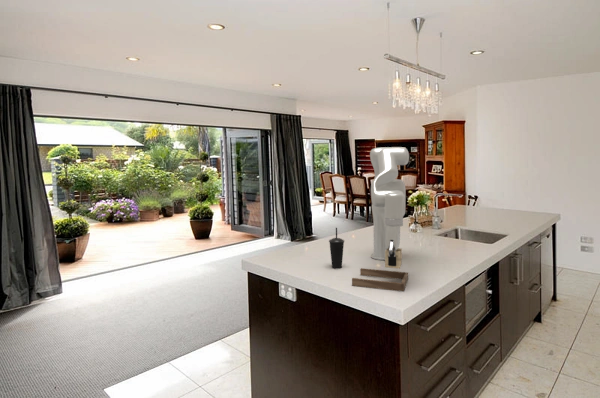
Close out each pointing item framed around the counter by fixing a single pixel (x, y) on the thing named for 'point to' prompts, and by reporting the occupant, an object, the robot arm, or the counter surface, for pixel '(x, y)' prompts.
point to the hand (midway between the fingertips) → (393, 263)
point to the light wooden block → (398, 258)
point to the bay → (381, 284)
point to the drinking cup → (336, 251)
